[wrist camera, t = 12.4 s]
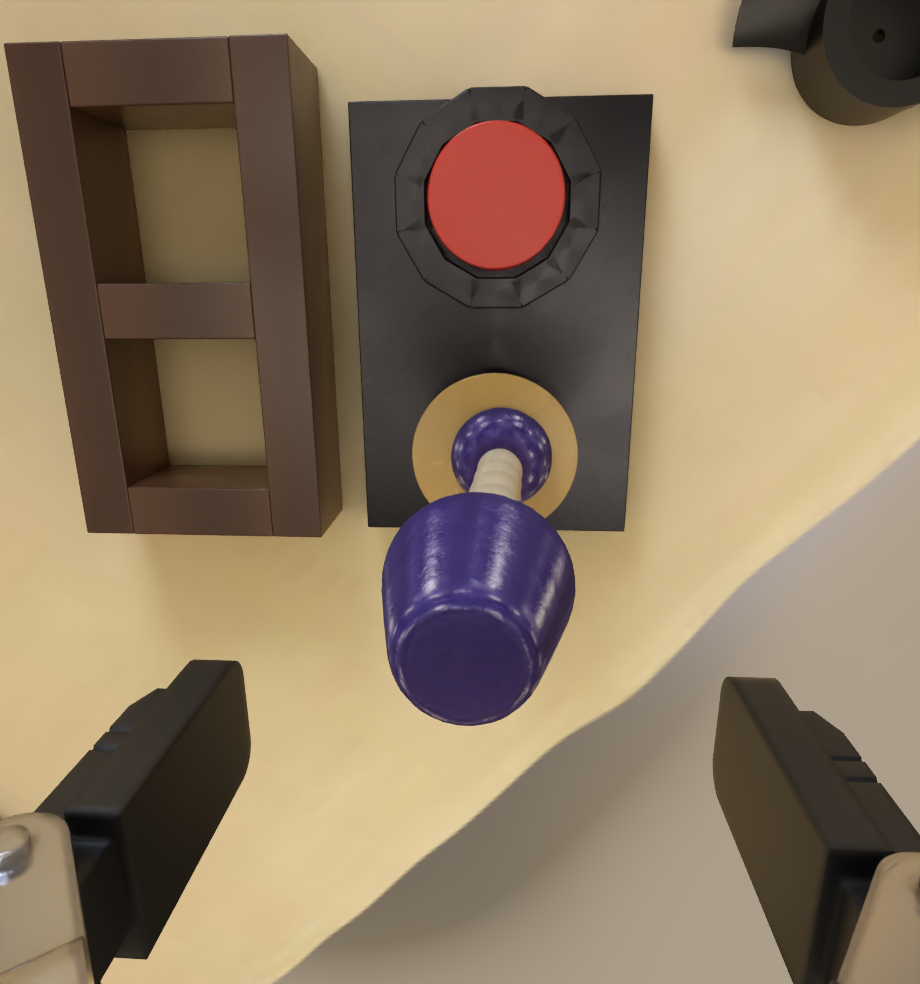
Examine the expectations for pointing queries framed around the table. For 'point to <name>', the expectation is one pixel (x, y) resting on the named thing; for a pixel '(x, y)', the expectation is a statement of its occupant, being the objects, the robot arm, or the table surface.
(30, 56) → the rack
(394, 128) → the switch base
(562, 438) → the brass plate
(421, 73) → the table surface
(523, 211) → the switch button
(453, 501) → the toy lamp
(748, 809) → the robot arm
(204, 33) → the table surface
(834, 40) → the black winged round part
